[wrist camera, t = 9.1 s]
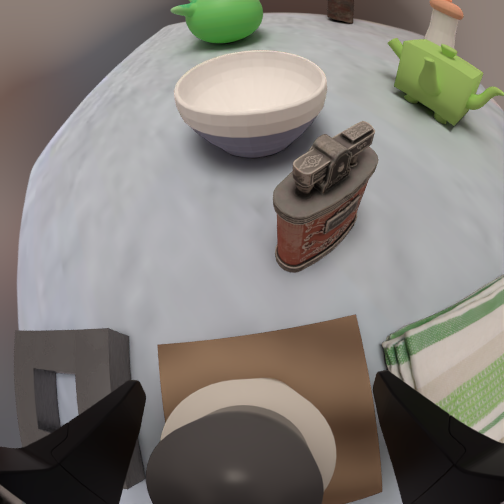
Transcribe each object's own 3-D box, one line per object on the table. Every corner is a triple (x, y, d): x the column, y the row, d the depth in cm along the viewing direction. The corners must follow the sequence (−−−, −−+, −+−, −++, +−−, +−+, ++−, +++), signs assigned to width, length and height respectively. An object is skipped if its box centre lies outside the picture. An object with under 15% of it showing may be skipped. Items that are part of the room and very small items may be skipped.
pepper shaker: (412, 65, 37) (426, -12, 20) (422, 61, 39) (435, -8, 22) (443, 83, 34) (463, 4, 17) (450, 77, 36) (468, 7, 19)
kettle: (484, 146, 26) (512, 90, 16) (409, 126, 28) (431, 54, 18) (446, 92, 32) (461, 43, 22) (379, 75, 34) (388, 19, 24)
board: (378, 487, 12) (382, 491, 11) (188, 512, 12) (184, 517, 11) (352, 317, 18) (355, 314, 17) (162, 346, 19) (157, 344, 18)
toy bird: (270, 48, 40) (264, -18, 27) (182, 60, 41) (165, -2, 28) (260, 27, 48) (255, -22, 35) (191, 37, 49) (180, -11, 36)
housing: (145, 478, 14) (127, 489, 11) (44, 451, 14) (23, 453, 11) (128, 336, 19) (108, 328, 16) (35, 338, 19) (15, 330, 17)
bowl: (173, 131, 30) (154, 80, 23) (271, 89, 32) (268, 42, 26) (230, 205, 24) (213, 140, 17) (349, 144, 26) (360, 85, 19)
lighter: (294, 282, 20) (305, 199, 11) (265, 251, 21) (255, 157, 12) (363, 223, 22) (400, 132, 13) (335, 198, 23) (355, 104, 14)
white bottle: (283, 442, 14) (295, 585, 2) (225, 421, 15) (95, 506, 2) (306, 389, 16) (400, 420, 3) (248, 368, 17) (162, 338, 4)
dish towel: (502, 274, 18) (522, 259, 15) (533, 454, 8) (552, 455, 5) (372, 340, 18) (390, 331, 15) (411, 549, 7) (425, 564, 4)
